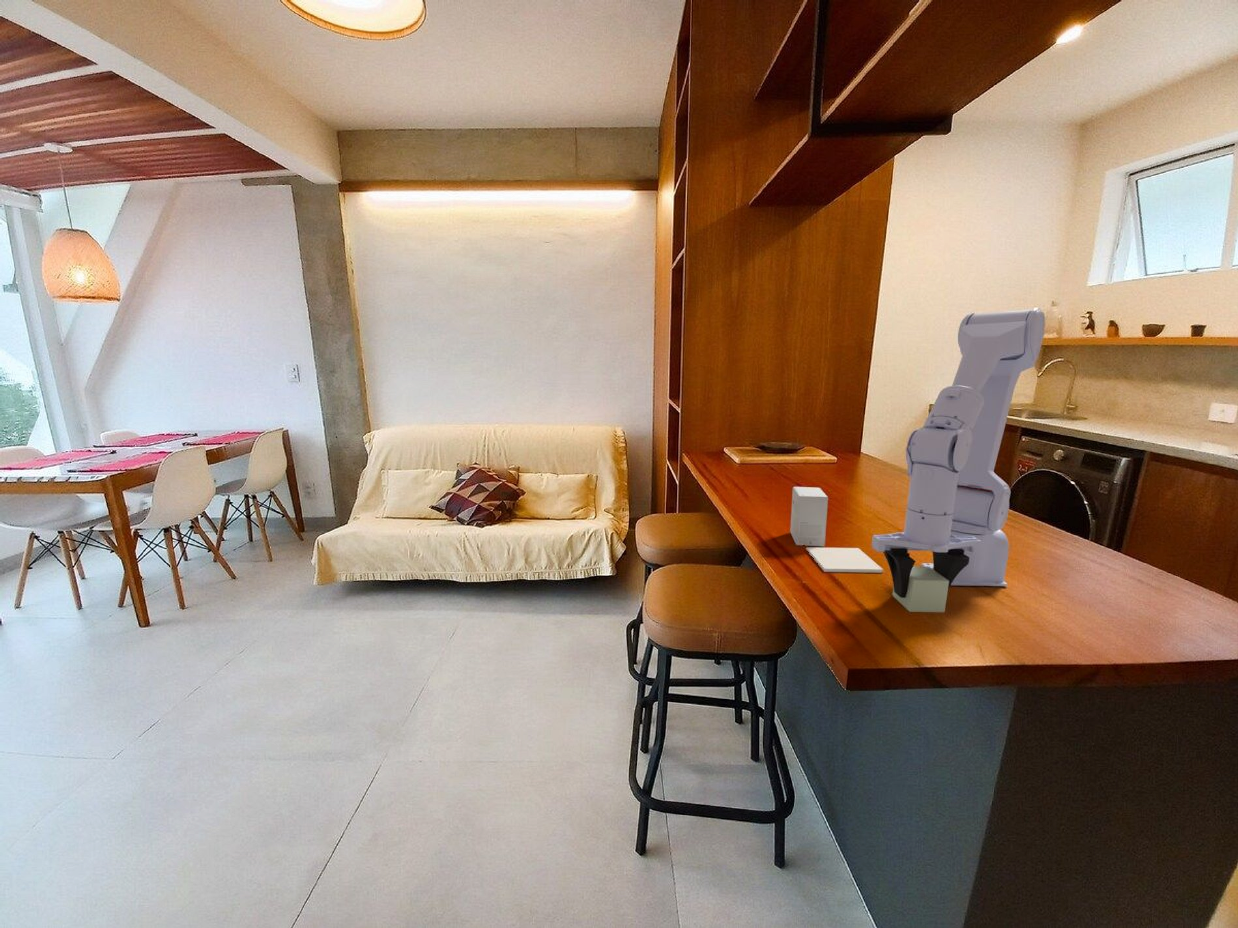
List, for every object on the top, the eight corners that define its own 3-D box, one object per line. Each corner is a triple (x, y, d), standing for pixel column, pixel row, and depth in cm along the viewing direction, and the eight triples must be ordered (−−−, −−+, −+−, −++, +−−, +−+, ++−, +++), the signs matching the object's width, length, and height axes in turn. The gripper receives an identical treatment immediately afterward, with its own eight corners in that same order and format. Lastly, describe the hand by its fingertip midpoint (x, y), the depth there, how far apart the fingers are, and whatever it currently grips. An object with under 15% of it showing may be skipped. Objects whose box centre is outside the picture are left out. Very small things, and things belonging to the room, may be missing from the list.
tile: (858, 550, 93) (858, 547, 93) (882, 572, 83) (883, 569, 83) (806, 550, 93) (806, 547, 93) (824, 571, 84) (824, 568, 83)
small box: (824, 547, 95) (828, 497, 92) (795, 545, 96) (798, 495, 94) (816, 533, 102) (820, 487, 100) (789, 532, 103) (792, 486, 101)
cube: (925, 596, 74) (929, 566, 73) (944, 612, 70) (949, 580, 69) (892, 595, 75) (895, 566, 74) (909, 611, 70) (913, 580, 69)
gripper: (892, 517, 66) (882, 606, 68) (1001, 518, 65) (986, 609, 67) (869, 503, 73) (860, 584, 75) (967, 503, 72) (955, 586, 74)
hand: (918, 594), depth 72 cm, fingers closed on cube, 5 cm apart
